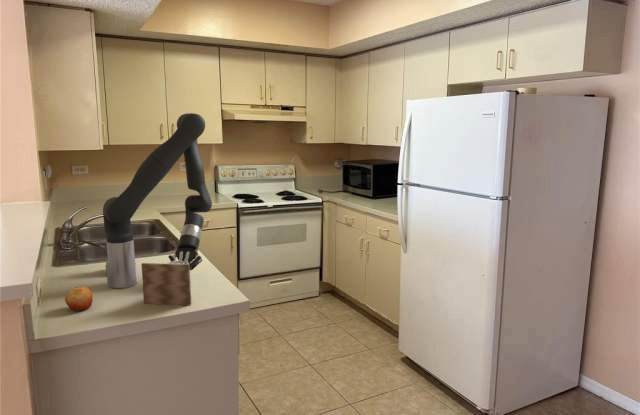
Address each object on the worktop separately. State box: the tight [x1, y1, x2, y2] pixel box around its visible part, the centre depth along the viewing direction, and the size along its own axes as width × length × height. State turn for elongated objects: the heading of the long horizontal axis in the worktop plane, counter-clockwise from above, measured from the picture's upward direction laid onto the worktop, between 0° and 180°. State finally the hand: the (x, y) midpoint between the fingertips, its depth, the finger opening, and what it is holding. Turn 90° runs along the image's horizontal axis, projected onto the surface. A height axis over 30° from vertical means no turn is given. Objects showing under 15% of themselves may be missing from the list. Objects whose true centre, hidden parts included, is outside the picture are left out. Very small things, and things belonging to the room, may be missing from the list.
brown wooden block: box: [141, 262, 192, 306], centre depth 153 cm, size 16×6×14 cm, turn 87°
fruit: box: [64, 286, 94, 311], centre depth 148 cm, size 8×8×8 cm
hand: (180, 279), depth 163 cm, fingers closed
